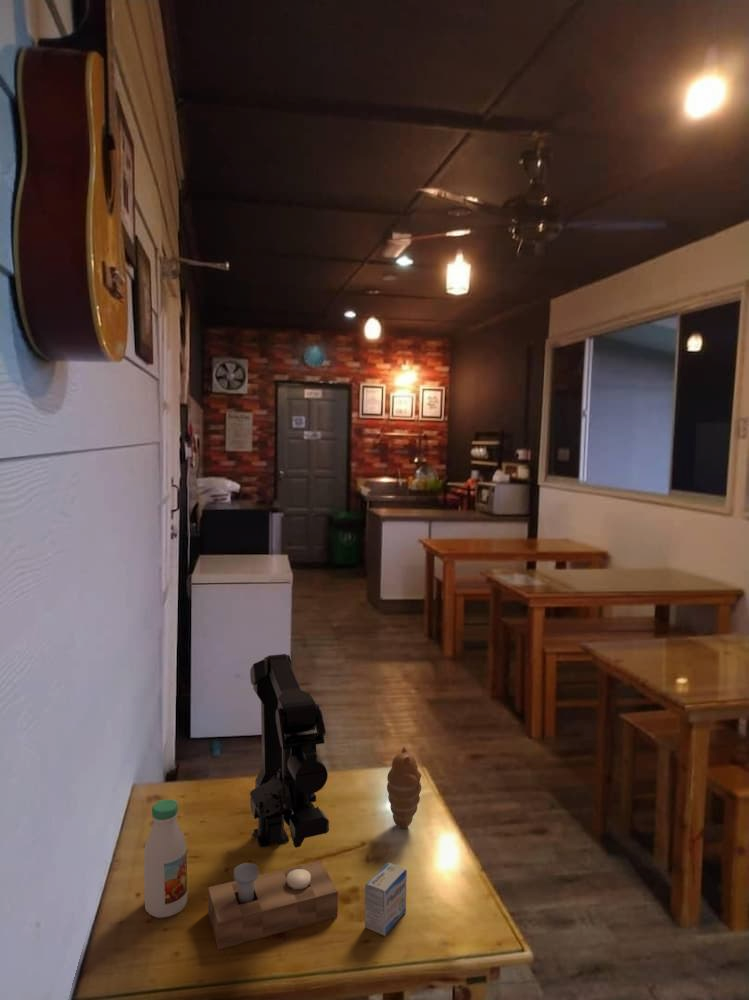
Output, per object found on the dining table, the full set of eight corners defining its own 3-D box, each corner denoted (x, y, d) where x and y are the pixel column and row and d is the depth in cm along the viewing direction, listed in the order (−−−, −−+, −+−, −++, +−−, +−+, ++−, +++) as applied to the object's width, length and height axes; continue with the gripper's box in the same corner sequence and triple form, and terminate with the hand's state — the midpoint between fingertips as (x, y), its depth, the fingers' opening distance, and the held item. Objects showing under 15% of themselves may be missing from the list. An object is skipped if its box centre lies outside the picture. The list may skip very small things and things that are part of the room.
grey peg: (231, 894, 127) (231, 866, 127) (255, 888, 129) (255, 860, 129) (236, 909, 123) (236, 880, 123) (260, 903, 125) (260, 874, 125)
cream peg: (284, 899, 132) (284, 872, 131) (306, 893, 134) (306, 866, 133) (290, 914, 128) (290, 886, 127) (313, 908, 130) (313, 880, 129)
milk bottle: (148, 924, 126) (146, 820, 124) (141, 898, 132) (139, 799, 130) (191, 911, 129) (190, 810, 127) (182, 887, 136) (181, 790, 134)
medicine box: (384, 937, 124) (385, 892, 123) (363, 927, 126) (364, 883, 125) (406, 912, 130) (407, 868, 129) (386, 903, 133) (387, 860, 132)
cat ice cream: (423, 836, 154) (425, 759, 152) (389, 839, 153) (390, 761, 151) (415, 814, 163) (417, 741, 161) (383, 816, 162) (384, 743, 160)
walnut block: (208, 912, 129) (208, 887, 128) (320, 883, 138) (320, 860, 137) (218, 949, 120) (218, 923, 119) (337, 916, 129) (337, 891, 128)
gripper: (242, 752, 133) (243, 828, 135) (267, 800, 116) (267, 887, 118) (298, 742, 137) (298, 817, 139) (330, 787, 120) (329, 871, 122)
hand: (297, 846), depth 129 cm, fingers closed
